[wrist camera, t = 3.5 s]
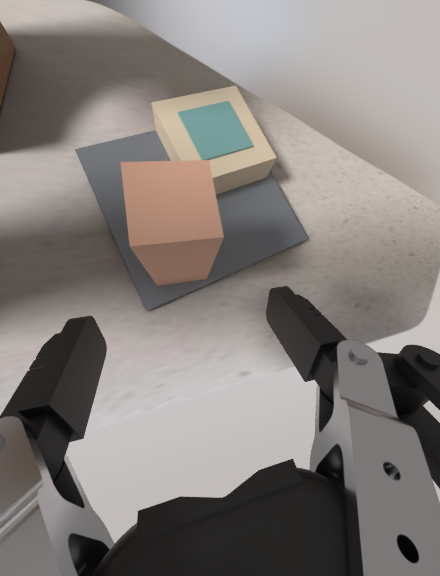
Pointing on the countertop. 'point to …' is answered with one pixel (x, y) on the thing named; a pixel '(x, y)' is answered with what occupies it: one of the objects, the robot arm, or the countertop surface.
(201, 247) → the terracotta block
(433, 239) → the countertop surface
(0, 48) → the decorative block
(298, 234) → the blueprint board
